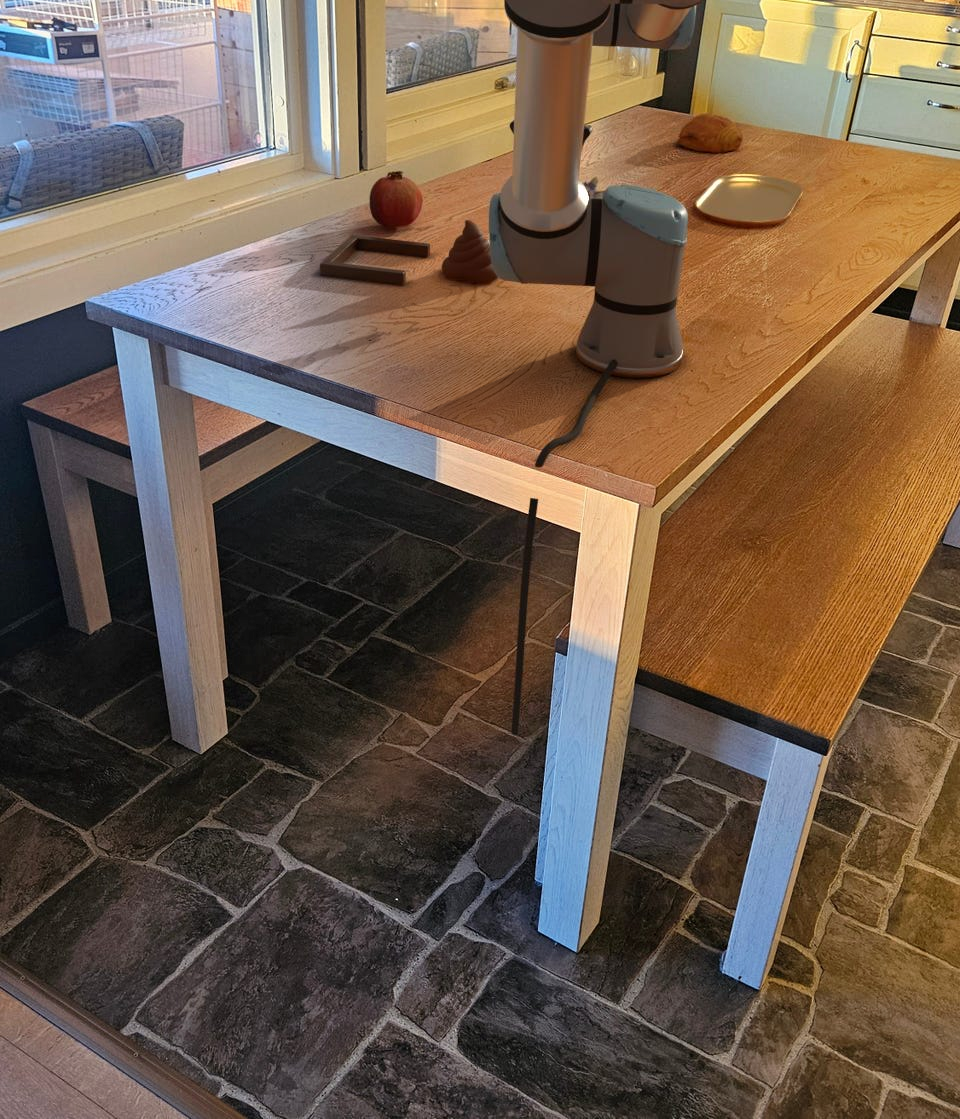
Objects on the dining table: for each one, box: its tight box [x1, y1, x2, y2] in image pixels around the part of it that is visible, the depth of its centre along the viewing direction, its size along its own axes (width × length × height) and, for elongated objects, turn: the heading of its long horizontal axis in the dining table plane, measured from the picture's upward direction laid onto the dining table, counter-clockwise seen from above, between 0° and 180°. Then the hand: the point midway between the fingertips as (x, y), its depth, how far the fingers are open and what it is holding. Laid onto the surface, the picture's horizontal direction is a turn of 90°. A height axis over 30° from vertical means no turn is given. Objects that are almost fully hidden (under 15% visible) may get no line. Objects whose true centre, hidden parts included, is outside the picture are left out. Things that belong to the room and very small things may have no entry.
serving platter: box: [694, 173, 804, 228], centre depth 223 cm, size 19×35×2 cm, turn 157°
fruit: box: [369, 170, 424, 228], centre depth 201 cm, size 11×10×10 cm
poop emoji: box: [441, 219, 499, 284], centre depth 181 cm, size 10×8×9 cm
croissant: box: [677, 112, 743, 154], centre depth 261 cm, size 14×16×8 cm
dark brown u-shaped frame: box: [319, 234, 431, 286], centre depth 186 cm, size 16×14×2 cm
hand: (544, 231), depth 176 cm, fingers closed
